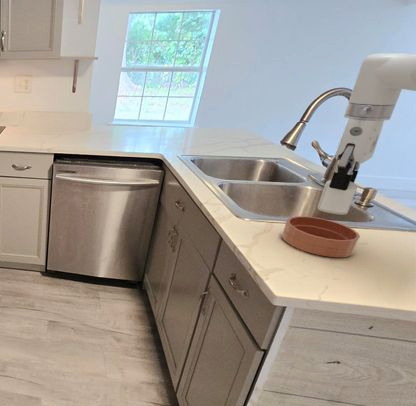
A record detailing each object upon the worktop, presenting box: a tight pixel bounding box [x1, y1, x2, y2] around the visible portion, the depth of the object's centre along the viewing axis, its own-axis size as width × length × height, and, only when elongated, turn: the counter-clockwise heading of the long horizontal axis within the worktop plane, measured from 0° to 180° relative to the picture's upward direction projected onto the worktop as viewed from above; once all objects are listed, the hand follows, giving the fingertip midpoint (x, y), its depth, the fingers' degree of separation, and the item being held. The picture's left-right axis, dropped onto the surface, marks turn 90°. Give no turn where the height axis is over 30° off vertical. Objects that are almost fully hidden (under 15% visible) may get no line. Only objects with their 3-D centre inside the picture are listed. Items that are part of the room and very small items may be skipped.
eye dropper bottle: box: [317, 172, 358, 215], centre depth 90 cm, size 4×6×12 cm
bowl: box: [281, 215, 361, 258], centre depth 96 cm, size 14×14×5 cm
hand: (341, 186), depth 90 cm, fingers closed on eye dropper bottle, 3 cm apart
